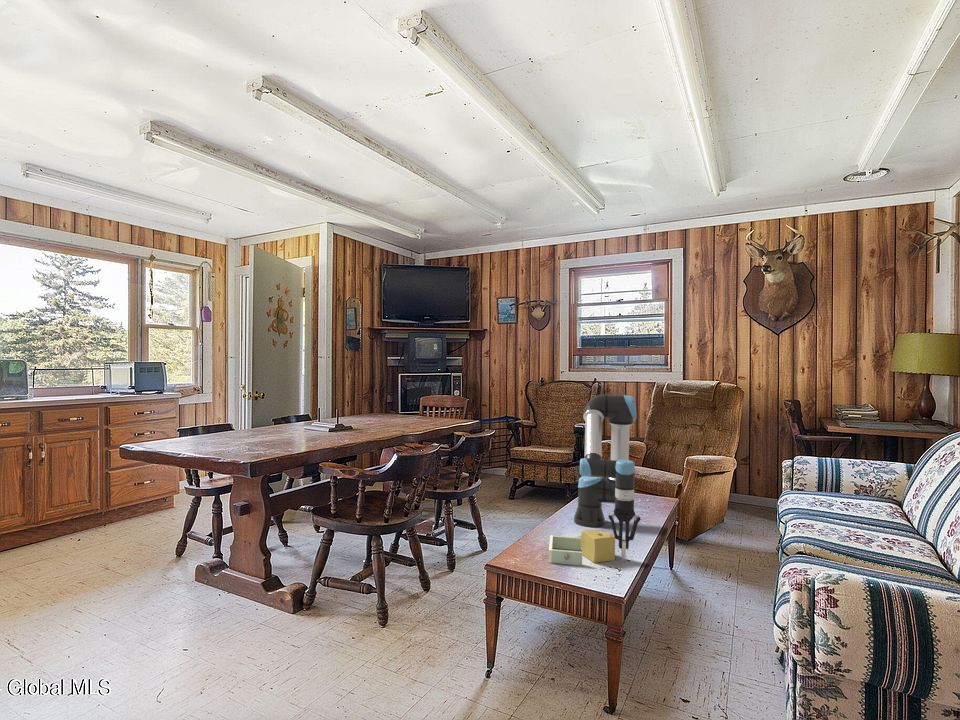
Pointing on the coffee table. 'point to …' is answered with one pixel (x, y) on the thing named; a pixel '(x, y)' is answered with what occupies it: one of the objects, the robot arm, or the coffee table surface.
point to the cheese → (598, 545)
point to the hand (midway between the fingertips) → (623, 556)
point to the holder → (565, 555)
